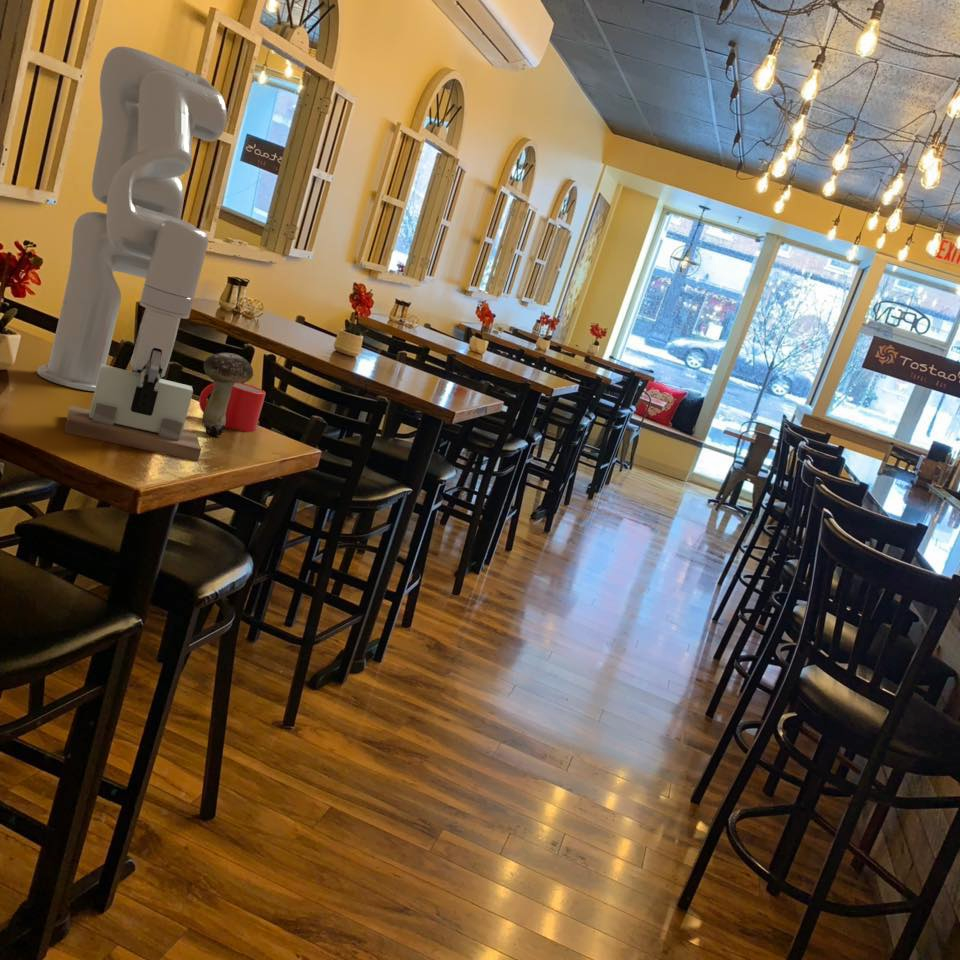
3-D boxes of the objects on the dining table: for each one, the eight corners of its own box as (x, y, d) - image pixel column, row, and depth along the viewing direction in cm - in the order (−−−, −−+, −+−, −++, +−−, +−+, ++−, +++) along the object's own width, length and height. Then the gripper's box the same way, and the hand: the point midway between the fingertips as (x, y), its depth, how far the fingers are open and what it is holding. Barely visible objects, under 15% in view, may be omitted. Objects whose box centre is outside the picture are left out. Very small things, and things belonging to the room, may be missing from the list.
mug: (190, 411, 182) (200, 373, 181) (249, 423, 189) (259, 386, 187) (199, 422, 176) (209, 382, 174) (260, 434, 182) (270, 396, 181)
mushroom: (221, 429, 176) (242, 353, 173) (244, 444, 171) (266, 365, 168) (176, 423, 169) (196, 343, 166) (198, 438, 164) (220, 356, 161)
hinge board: (67, 417, 150) (74, 387, 149) (193, 444, 158) (200, 416, 158) (64, 432, 141) (71, 401, 140) (198, 460, 150) (205, 431, 149)
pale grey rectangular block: (89, 412, 148) (101, 363, 147) (179, 432, 154) (191, 385, 153) (89, 417, 145) (101, 368, 144) (180, 437, 151) (193, 390, 149)
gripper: (140, 288, 152) (115, 388, 155) (143, 302, 136) (115, 413, 140) (187, 301, 155) (161, 399, 158) (195, 317, 140) (167, 425, 143)
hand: (140, 405), depth 149 cm, fingers open, 9 cm apart
